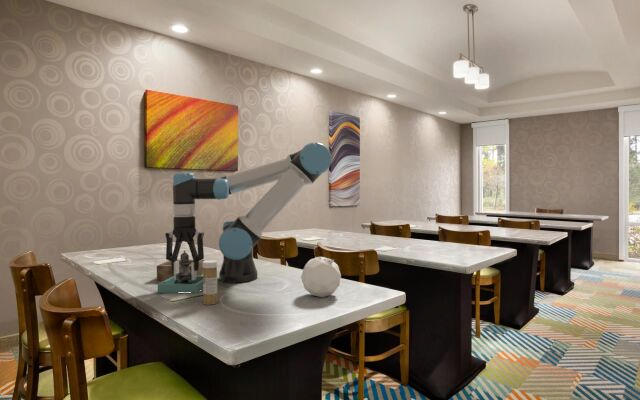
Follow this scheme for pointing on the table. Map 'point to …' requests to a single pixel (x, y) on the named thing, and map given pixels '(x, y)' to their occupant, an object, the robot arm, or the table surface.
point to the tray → (180, 286)
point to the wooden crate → (166, 271)
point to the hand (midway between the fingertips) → (185, 279)
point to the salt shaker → (184, 270)
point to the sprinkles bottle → (209, 282)
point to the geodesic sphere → (321, 276)
